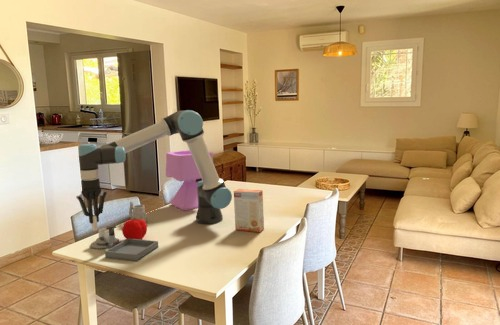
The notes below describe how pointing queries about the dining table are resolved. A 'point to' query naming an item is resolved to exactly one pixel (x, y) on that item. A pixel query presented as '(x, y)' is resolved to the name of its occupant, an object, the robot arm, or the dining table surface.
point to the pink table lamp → (184, 178)
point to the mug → (137, 212)
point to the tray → (131, 249)
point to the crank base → (103, 244)
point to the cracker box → (249, 210)
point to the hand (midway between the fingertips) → (94, 229)
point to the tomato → (134, 229)
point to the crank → (107, 234)
